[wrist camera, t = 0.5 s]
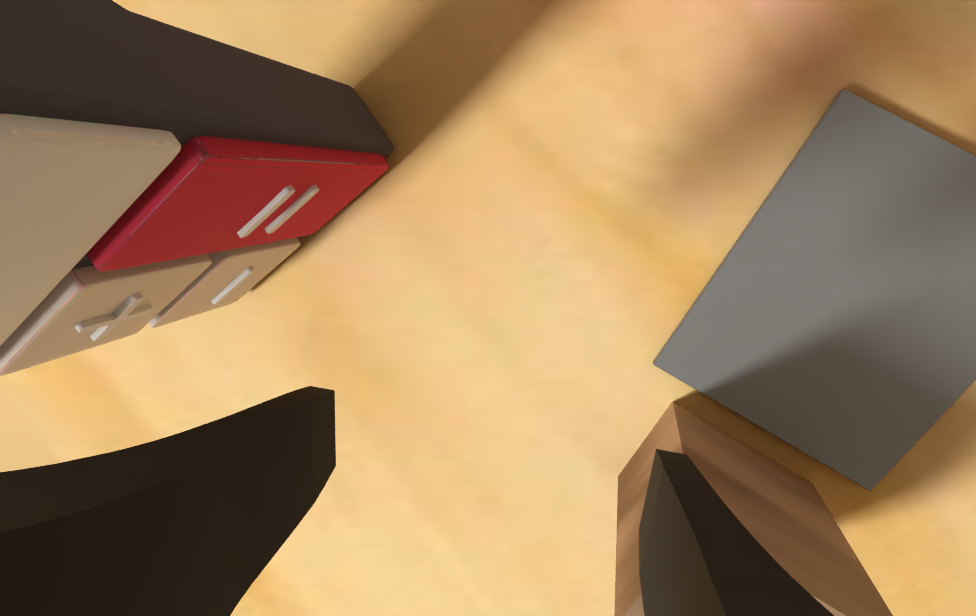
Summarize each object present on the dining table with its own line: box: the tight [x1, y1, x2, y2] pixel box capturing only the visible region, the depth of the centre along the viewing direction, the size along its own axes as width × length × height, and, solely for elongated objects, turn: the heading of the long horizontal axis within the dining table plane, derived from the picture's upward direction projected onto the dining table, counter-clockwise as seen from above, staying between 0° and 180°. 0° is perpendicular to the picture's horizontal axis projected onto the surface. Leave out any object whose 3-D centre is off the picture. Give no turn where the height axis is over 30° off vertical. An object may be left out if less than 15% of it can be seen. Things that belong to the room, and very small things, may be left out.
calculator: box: [0, 0, 393, 376], centre depth 16 cm, size 11×4×15 cm, turn 127°
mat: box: [653, 89, 976, 491], centre depth 19 cm, size 11×9×1 cm
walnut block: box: [615, 402, 893, 616], centre depth 18 cm, size 4×6×8 cm, turn 62°
